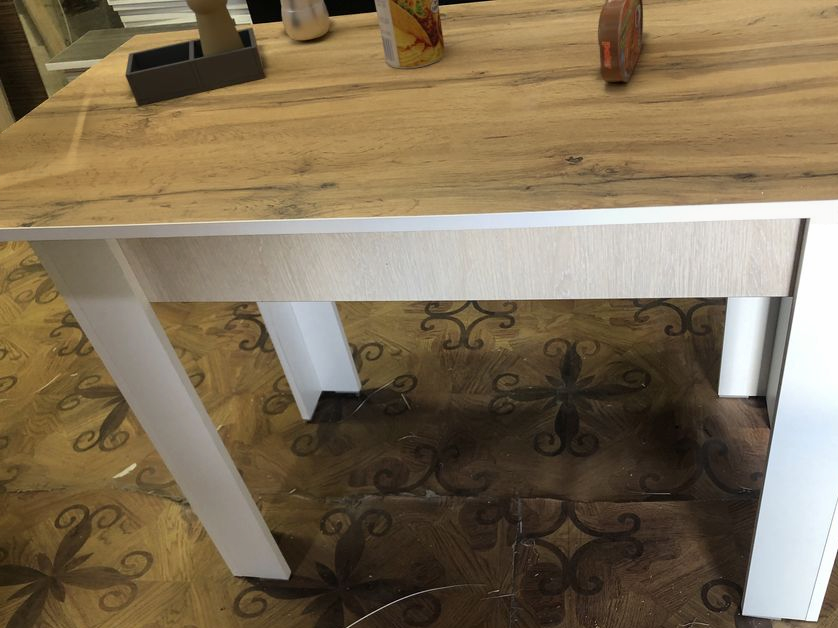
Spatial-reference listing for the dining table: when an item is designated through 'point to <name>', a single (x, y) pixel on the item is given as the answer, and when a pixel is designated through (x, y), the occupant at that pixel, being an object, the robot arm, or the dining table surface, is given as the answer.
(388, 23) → the canned food
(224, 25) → the cork
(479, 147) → the dining table surface
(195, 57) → the divided storage box
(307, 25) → the plastic bottle
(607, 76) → the tin
